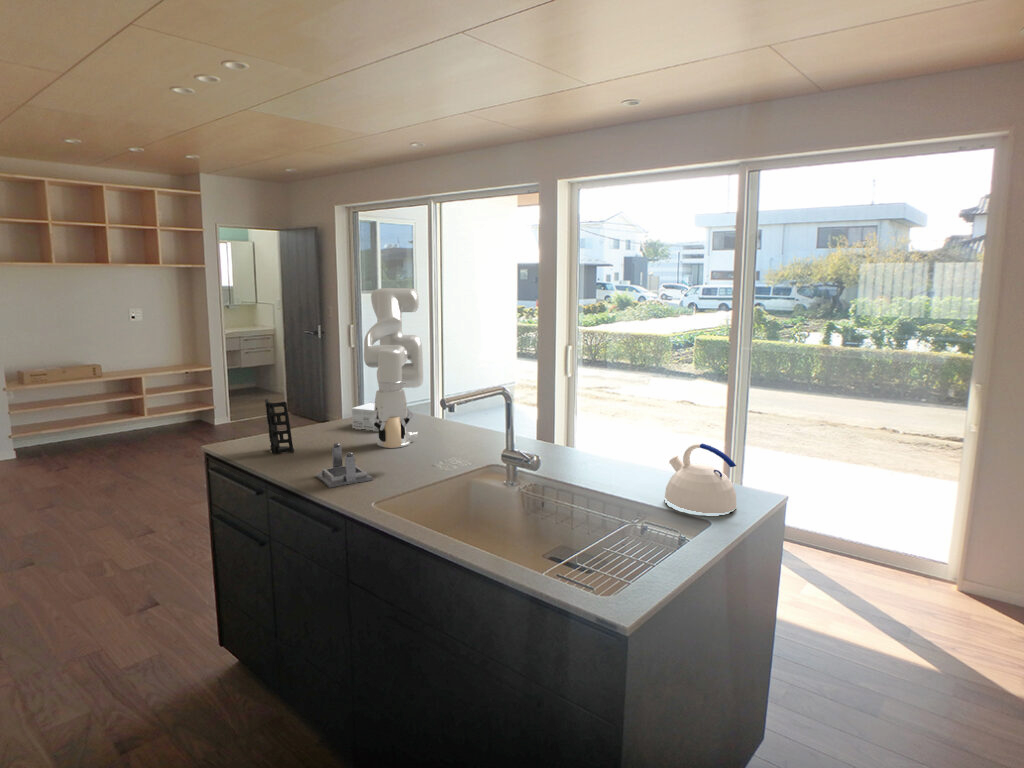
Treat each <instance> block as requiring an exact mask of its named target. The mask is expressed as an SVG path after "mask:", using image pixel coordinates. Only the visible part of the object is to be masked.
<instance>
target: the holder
mask: <svg viewBox="0 0 1024 768" xmlns="http://www.w3.org/2000/svg"><path fill="white" fill-rule="evenodd" d="M264 403H265V404H264V405H265V409H266V412H265V413H266V420H267V424H268V437H269V443H270V451H271V454H272V453H273V454H274V455H278V453H279V454H282V453H289V452H290V453H293V452H295V449H294V445H293V444H294V443H293V438H292V437H293V436H292V432H291V424H290V416H289V411H288V404H287V402H286V401H281V402H280V401H279V402H270V401H269V398H266V399H265V400H264ZM277 407H278V408H281V407H282V408H283V411H279V412H276V411H275V408H277ZM282 416H284V418H285V420H284V421H283V420H282V418H281V417H282ZM278 426H285V427H286V429H284V430H278ZM284 434H287V438H286V439H285V438H284ZM281 444H288V446H287V445H285V446H284V445H283V446H282V445H281Z"/></svg>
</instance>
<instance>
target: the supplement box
mask: <svg viewBox="0 0 1024 768" xmlns="http://www.w3.org/2000/svg"><path fill="white" fill-rule="evenodd" d="M374 407H375V402H374V403H373V402H369V403H365V404H361V405H357V406H355V407H352V408H351V417H352V419H351V420H352V424H351V425H352V429H353V428H355V429H354V430H361V429H366V430H365V431H369V430H373V431H372V432H378V431H379V430H378V428H377V427H376V426H374V425H373V424H372V423H371V422H370V421H369V418H370V417H371V416H372V415H373V413H374ZM375 421H376V422H377V423H378V422H379V419H375Z"/></svg>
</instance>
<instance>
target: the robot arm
mask: <svg viewBox="0 0 1024 768" xmlns="http://www.w3.org/2000/svg"><path fill="white" fill-rule="evenodd" d="M370 300H371V305H372V309H373V312H374V314H375V316H376V319H377V322H376V323H375V324H373V326H371V327H370V328H369V330H368V331H367V333H366V335H365V337H364V339H363V362H364V364H365V365H366V366H367V367H369V368H373V369H374V368H375V369H376V368H377V369H376V380H377V386H378V390H376V392H375V397H374V403H375V407H374V413H373V415H372V416H371V417H370V418H369V421H370V422H371V423H372V424H373V425H374V426H376V427H377V428H378V430H379V432H378V440H377V442H376V443H377V444H376V445H377V446H379V447H381V448H386V449H388V448H387V447H384V446H383V442H385V430H384V426H385V422H386V421H387V420H388V418H393V417H400V419H401V446H399V447H395V448H402V447H407V446H408V445H410V444H411V438H417V437H418V436H419V433H418V431H415V432H414V431H413V432H412V431H407V424H408V423H409V422H410V420H411V419H412V418H413V417H414V413H413V412H411V410H409V409H408V408H407V407H408V405H407V397H406V393H405V389H407V388H408V389H409V388H411V389H412V388H413V389H414V388H419V387H421V386H422V385H423V382H424V364H423V363H424V361H423V360H424V358H423V345H422V340H421V339H420V337H419V336H418V335H415V334H403V319H402V317H403V316H402V313H416V312H417V311H418V309H419V305H420V303H419V302H420V301H419V294H418V292H417V290H416V288H411V287H402V288H401V287H398V288H397V287H385V288H382V287H381V288H376V289H374V290H373V291H372V292H371V295H370ZM377 341H379V344H377V345H376V344H375V343H376V342H377ZM407 361H410V362H407ZM375 419H379V422H378V423H377V422H376V421H375ZM395 448H394V449H395Z"/></svg>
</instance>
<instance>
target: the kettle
mask: <svg viewBox="0 0 1024 768" xmlns="http://www.w3.org/2000/svg"><path fill="white" fill-rule="evenodd" d="M695 449H696V450H697V449H703V450H705V451H708V452H711V453H713V454H715V455H716V456H718V457H719V458H720V459H722V460H723V461H724V462H725V463H726V464H727V465H728V467H730V468H734V467H737V465H736V463H735V462H734V461H733V460H732V459H731V458H730V456H728V455H727V454H726V453H724V452H722V451H721V450H719V449H718V448H716V447H714V446H712V445H709V444H705V443H694V444H691V445H690V446H688V447H687V449H686V450H685V451H684V453H683V457H682V460H681V459H680V457H679V455H675V456H673V457H672V458H671V459H670V460H669V462H668V464H669V465H671V467H672V468H673V469H674V471H675V472H674V474H673V475H672V476H671V477H670V479H668V482H667V484H666V487H665V492H664V498H666V499H667V501H669V502H670V503H672V504H674V505H676V506H678V507H680V508H684V509H687V510H691V511H696V512H702V513H725V512H729V511H732V510H734V509H735V508H736V506H737V492H736V490H735V487H734V485H733V483H732V481H731V480H730V478H729V477H728V476H727V475H726V474H725V473H724V472H722V471H721V470H720V469H719V468H717V467H715V466H713V465H709V464H705V463H694V464H693V463H691V459H690V458H691V454H692V452H693V451H694V450H695ZM736 509H737V508H736Z"/></svg>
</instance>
